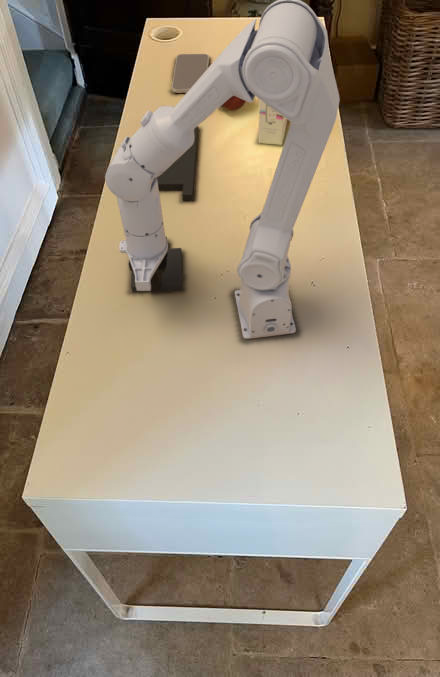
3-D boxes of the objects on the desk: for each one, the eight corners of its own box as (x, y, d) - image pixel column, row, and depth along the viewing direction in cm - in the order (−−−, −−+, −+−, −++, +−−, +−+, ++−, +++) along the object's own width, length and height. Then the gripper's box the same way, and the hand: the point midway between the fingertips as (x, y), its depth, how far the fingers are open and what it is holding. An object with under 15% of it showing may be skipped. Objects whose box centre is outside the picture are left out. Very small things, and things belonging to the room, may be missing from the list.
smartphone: (209, 53, 138) (205, 89, 129) (209, 57, 139) (205, 93, 130) (176, 54, 138) (171, 89, 129) (177, 57, 139) (171, 93, 130)
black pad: (192, 201, 109) (192, 194, 108) (137, 201, 110) (136, 195, 108) (198, 129, 122) (197, 122, 121) (149, 129, 123) (148, 123, 121)
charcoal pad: (182, 290, 97) (181, 284, 95) (132, 293, 97) (130, 287, 95) (181, 241, 103) (180, 235, 102) (134, 244, 103) (133, 238, 102)
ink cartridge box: (264, 118, 124) (266, 48, 112) (288, 120, 123) (293, 50, 111) (257, 143, 119) (259, 72, 107) (282, 146, 118) (286, 75, 106)
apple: (250, 117, 124) (250, 81, 118) (212, 118, 124) (210, 81, 118) (249, 97, 129) (249, 61, 122) (213, 98, 129) (211, 61, 122)
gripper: (120, 188, 89) (133, 254, 100) (107, 259, 80) (123, 322, 91) (168, 188, 89) (176, 253, 100) (160, 259, 80) (169, 322, 91)
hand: (153, 286), depth 96 cm, fingers closed, pressing on charcoal pad
